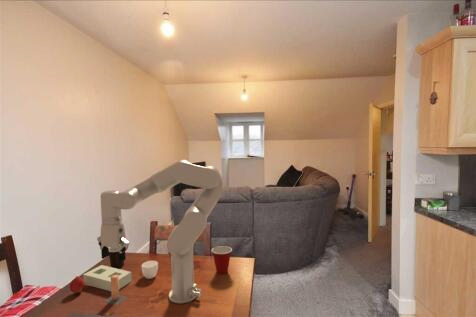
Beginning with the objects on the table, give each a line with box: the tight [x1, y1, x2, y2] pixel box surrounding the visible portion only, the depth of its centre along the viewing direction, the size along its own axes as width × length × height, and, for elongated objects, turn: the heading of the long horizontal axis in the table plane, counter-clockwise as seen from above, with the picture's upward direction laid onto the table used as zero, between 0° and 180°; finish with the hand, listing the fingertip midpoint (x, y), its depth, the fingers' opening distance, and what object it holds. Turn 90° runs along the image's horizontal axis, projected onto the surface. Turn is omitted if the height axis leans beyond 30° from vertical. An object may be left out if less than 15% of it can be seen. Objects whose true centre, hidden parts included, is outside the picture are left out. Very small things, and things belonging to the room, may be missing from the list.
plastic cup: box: [211, 245, 233, 275], centre depth 133 cm, size 11×11×12 cm
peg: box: [110, 275, 120, 301], centre depth 110 cm, size 3×3×10 cm
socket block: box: [82, 264, 132, 292], centre depth 124 cm, size 20×10×5 cm, turn 68°
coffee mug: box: [108, 247, 125, 269], centre depth 139 cm, size 12×9×10 cm
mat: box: [103, 294, 129, 306], centre depth 110 cm, size 8×6×1 cm
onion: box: [69, 275, 86, 294], centre depth 116 cm, size 6×6×8 cm
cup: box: [141, 260, 159, 279], centre depth 130 cm, size 8×10×7 cm
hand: (113, 259), depth 109 cm, fingers open, 9 cm apart
